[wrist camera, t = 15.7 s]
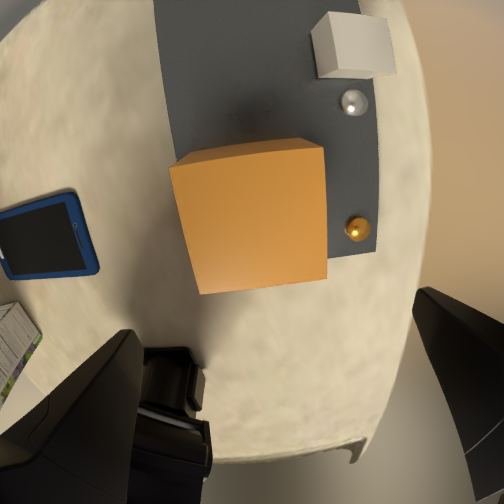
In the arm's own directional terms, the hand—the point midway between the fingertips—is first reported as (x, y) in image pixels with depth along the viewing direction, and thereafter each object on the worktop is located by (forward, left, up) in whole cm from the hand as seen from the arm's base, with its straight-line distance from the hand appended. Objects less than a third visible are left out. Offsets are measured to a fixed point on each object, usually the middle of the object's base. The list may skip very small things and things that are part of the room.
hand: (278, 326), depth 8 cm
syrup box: (-30, -9, -12) cm, 34 cm away
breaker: (+6, +9, -10) cm, 14 cm away
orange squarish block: (0, +1, -10) cm, 10 cm away
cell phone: (-20, 0, -12) cm, 24 cm away
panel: (+2, +6, -12) cm, 13 cm away
